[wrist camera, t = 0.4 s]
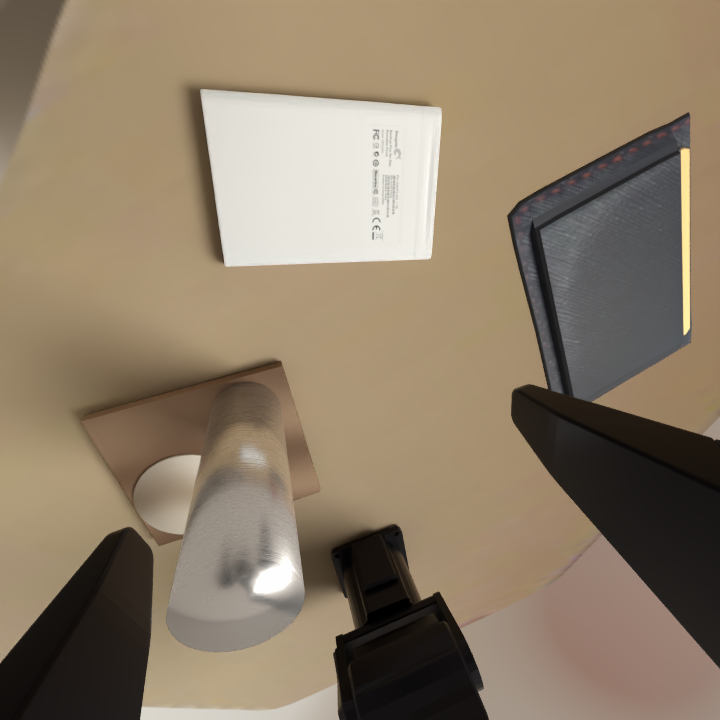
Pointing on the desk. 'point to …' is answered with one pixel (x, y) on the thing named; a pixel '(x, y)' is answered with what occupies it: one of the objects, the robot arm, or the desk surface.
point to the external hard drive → (321, 178)
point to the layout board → (183, 447)
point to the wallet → (610, 263)
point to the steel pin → (239, 530)
